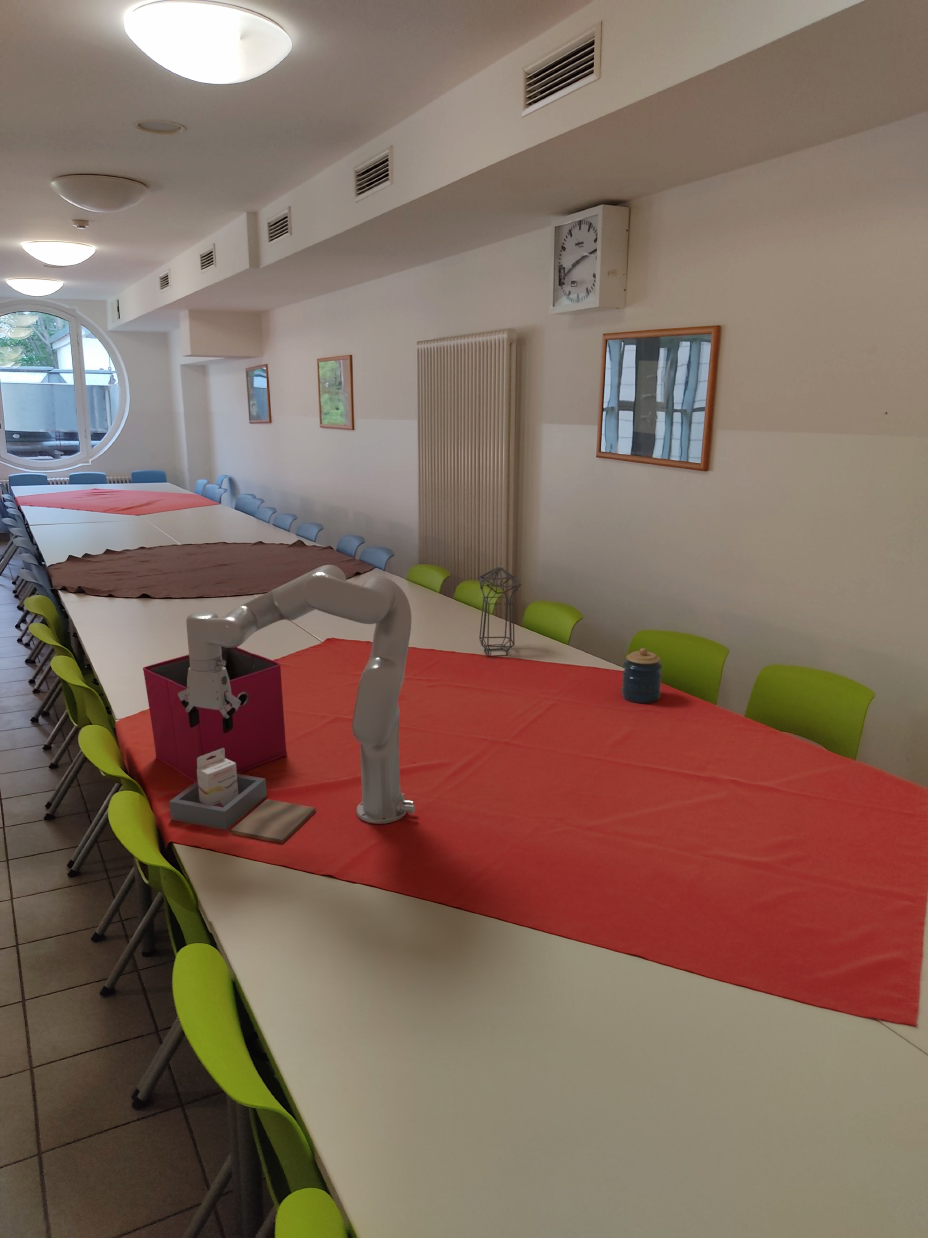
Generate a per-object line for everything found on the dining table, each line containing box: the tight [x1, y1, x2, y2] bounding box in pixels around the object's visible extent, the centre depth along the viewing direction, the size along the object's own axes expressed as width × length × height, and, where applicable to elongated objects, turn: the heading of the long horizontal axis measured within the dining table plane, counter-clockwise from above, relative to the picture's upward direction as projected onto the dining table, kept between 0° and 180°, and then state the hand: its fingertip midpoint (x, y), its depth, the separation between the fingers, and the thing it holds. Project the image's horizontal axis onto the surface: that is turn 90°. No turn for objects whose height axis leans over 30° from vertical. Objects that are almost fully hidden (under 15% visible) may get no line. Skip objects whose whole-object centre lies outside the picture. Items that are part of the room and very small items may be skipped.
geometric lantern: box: [476, 566, 522, 657], centre depth 323 cm, size 16×16×35 cm
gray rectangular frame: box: [168, 773, 268, 831], centre depth 208 cm, size 16×18×5 cm
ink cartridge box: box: [197, 748, 239, 807], centre depth 207 cm, size 9×5×15 cm, turn 141°
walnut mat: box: [230, 798, 316, 845], centre depth 202 cm, size 14×16×1 cm
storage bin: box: [142, 646, 288, 784], centre depth 233 cm, size 28×29×28 cm
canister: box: [621, 647, 663, 704], centre depth 279 cm, size 13×13×18 cm
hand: (211, 728), depth 203 cm, fingers open, 9 cm apart
